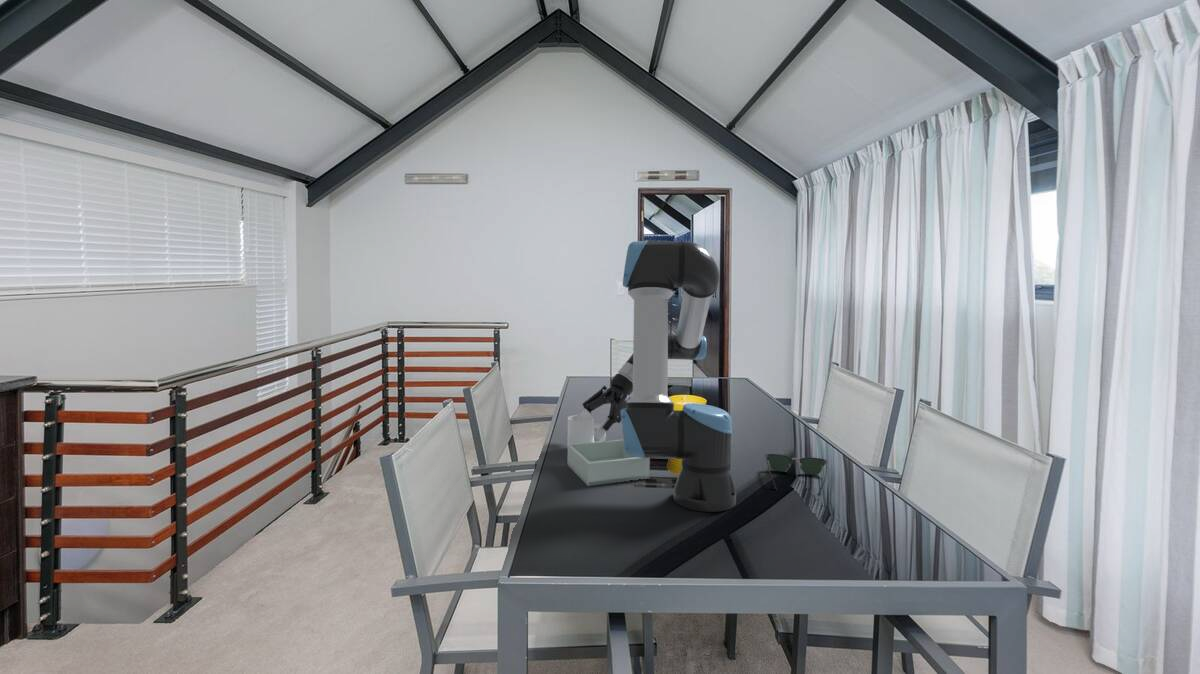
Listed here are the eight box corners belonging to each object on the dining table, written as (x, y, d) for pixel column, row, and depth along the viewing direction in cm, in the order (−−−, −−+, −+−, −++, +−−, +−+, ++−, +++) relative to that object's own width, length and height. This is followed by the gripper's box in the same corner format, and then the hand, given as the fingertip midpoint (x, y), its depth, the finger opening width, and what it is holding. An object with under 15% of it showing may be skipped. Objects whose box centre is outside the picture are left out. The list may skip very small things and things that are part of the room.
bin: (649, 478, 159) (649, 456, 158) (588, 486, 153) (588, 463, 152) (623, 458, 175) (624, 439, 175) (567, 465, 169) (567, 444, 168)
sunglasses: (763, 490, 152) (764, 471, 152) (764, 469, 168) (765, 452, 168) (831, 498, 148) (832, 478, 147) (825, 476, 164) (826, 458, 163)
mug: (607, 448, 186) (608, 416, 185) (603, 456, 178) (603, 422, 177) (570, 445, 188) (570, 414, 187) (564, 453, 180) (564, 420, 179)
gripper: (656, 394, 179) (613, 449, 174) (612, 381, 201) (573, 429, 195) (642, 379, 176) (598, 434, 170) (599, 366, 197) (559, 415, 192)
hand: (585, 431), depth 183 cm, fingers open, 13 cm apart
